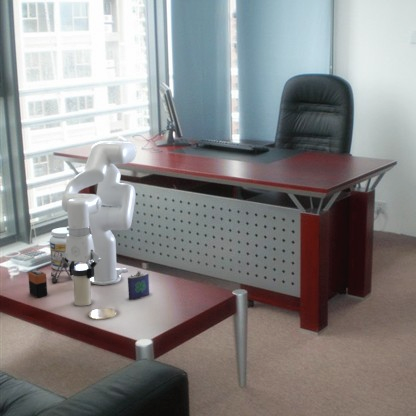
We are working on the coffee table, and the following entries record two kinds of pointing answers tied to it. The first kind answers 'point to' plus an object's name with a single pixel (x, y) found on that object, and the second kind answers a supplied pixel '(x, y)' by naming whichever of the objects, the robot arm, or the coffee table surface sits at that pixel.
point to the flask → (138, 286)
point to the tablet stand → (64, 265)
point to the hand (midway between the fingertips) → (82, 275)
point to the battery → (37, 283)
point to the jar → (82, 290)
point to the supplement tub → (58, 247)
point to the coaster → (102, 313)
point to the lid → (79, 270)
